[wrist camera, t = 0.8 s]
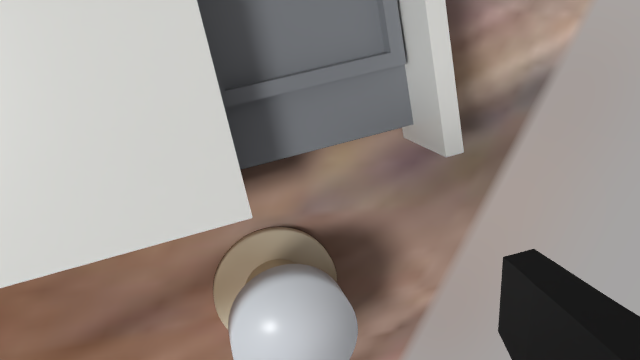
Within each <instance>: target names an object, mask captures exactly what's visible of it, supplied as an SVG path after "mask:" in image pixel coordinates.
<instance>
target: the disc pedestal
mask: <svg viewBox="0 0 640 360" xmlns="http://www.w3.org/2000/svg"><path fill="white" fill-rule="evenodd" d="M285 264H304V265H309V266H312V267H315V268H318V269H320V270H322V271H324V272H325V273H327V274H328V275H329V276H330V277H332V278H333V279H334V280H335V282H336V283H337V275H336V270H335V266H334V264H333V262H332V259H331V258H330V256H329V255H328V253H327V251H326V250H325V249H324V247H323V246H322V245H321V244H320V243H319V242H318V241H317V240H316V239H315V238H313V237H312V236H310V235H309V234H307V233H305V232H302V231H300V230H297V229H293V228H287V227H271V228H266V229H261V230H258V231H255V232H253V233H251V234H249V235H247V236H245V237H243V238H242V239H240V240H239V241H238V242H236V243H235V244H234V245H233V246H232V247H231V248H230V249H229V250H228V251H227V252H226V254H225V255H224V256H223V258H222V259H221V261H220V263H219V265H218V267H217V270H216V273H215V277H214V282H213V296H214V302H215V307H216V310H217V313H218V316H219V318H220V319H221V321H222V323H223V324H224V325H225V327H226V328H227V329H228V320H229V314H230V309H231V307H232V304H233V302H234V300H235V298H236V296H237V295H238V293H239V292H240V291H241V289H242V288H243V287H244V286H245V285H246V284H247V283H248V282H249V281H250V280H251V279H252V278H254V277H255V276H257V275H258V274H260V273H261V272H263V271H265V270H267V269H270V268H273V267H276V266H280V265H285Z"/></svg>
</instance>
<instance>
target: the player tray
mask: <svg viewBox="0 0 640 360" xmlns="http://www.w3.org/2000/svg"><path fill="white" fill-rule="evenodd" d="M197 3H198V7H199V11H200V14H201V18H202V22H203V26H204V30H205V34H206V38H207V42H208V46H209V50H210V54H211V57H212V61H213V65H214V69H215V73H216V77H217V81H218V85H219V89H220V93H221V97H222V100H223V104H224V108H225V112H226V116H227V120H228V124H229V128H230V132H231V136H232V140H233V143H234V147H235V151H236V155H237V159H238V163H239V167H240V170H241V169H245V168H249V167H252V166H256V165H260V164H264V163H268V162H271V161H275V160H279V159H283V158H287V157H291V156H294V155H298V154H302V153H306V152H310V151H314V150H317V149H321V148H325V147H329V146H333V145H337V144H340V143H344V142H348V141H352V140H356V139H360V138H363V137H367V136H371V135H375V134H379V133H383V132H386V131H390V130H394V129H398V128H402V130H403V136H404V138H406V139H408V140H410V141H412V142H414V143H416V144H419V145H421V146H423V147H425V148H427V149H429V150H431V151H433V152H436V153H438V154H440V155H442V156H444V157H449V156H453V155H457V154H460V153H464V149H463V141H462V133H461V125H460V117H459V109H458V100H457V92H456V84H455V76H454V68H453V60H452V52H451V43H450V35H449V27H448V19H447V11H446V3H445V0H197Z"/></svg>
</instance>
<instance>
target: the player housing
mask: <svg viewBox="0 0 640 360" xmlns="http://www.w3.org/2000/svg"><path fill="white" fill-rule="evenodd" d="M250 218H252V214H251V210H250V206H249V202H248V198H247V194H246V190H245V187H244V183H243V179H242V175H241V171H240V167H239V163H238V159H237V155H236V151H235V147H234V143H233V140H232V136H231V132H230V128H229V124H228V120H227V116H226V112H225V108H224V104H223V100H222V97H221V93H220V89H219V85H218V81H217V77H216V73H215V69H214V65H213V61H212V57H211V54H210V50H209V46H208V42H207V38H206V34H205V30H204V26H203V22H202V18H201V14H200V11H199V7H198V3H197V0H0V288H2V287H6V286H10V285H13V284H17V283H20V282H24V281H28V280H31V279H35V278H38V277H42V276H46V275H49V274H53V273H56V272H60V271H64V270H67V269H71V268H74V267H78V266H81V265H85V264H89V263H92V262H96V261H99V260H103V259H107V258H110V257H114V256H117V255H121V254H125V253H128V252H132V251H135V250H139V249H143V248H146V247H150V246H153V245H157V244H160V243H164V242H168V241H171V240H175V239H178V238H182V237H186V236H189V235H193V234H196V233H200V232H204V231H207V230H211V229H214V228H218V227H222V226H225V225H229V224H232V223H236V222H240V221H243V220H247V219H250Z"/></svg>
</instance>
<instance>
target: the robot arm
mask: <svg viewBox="0 0 640 360" xmlns="http://www.w3.org/2000/svg"><path fill="white" fill-rule="evenodd" d="M498 332H499V334H500V336H501V338H502V340H503V342H504V344H505V346H506V348H507V350H508V352H509V354H510V357H511V359H512V360H640V316H638V315H636V314H635V313H633V312H631V311H630V310H628V309H626V308H625V307H623V306H622V305H620V304H618V303H617V302H615V301H614V300H612V299H611V298H609V297H607V296H606V295H604V294H603V293H601V292H600V291H598V290H596V289H595V288H593V287H592V286H590V285H589V284H587V283H586V282H584V281H583V280H581V279H579V278H578V277H576V276H575V275H573V274H572V273H570V272H569V271H567V270H566V269H564V268H563V267H561V266H560V265H558V264H557V263H555V262H554V261H552V260H550V259H549V258H547V257H546V256H544V255H542V254H541V253H540V252H538V251H536V250H535V249H532V250H528V251H524V252H520V253H517V254H513V255H509V256H505V257H503V268H502V282H501V297H500V312H499V327H498Z"/></svg>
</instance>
